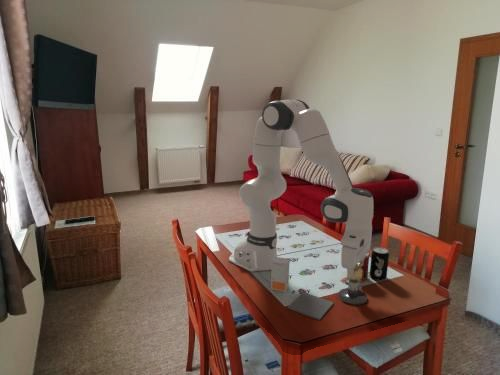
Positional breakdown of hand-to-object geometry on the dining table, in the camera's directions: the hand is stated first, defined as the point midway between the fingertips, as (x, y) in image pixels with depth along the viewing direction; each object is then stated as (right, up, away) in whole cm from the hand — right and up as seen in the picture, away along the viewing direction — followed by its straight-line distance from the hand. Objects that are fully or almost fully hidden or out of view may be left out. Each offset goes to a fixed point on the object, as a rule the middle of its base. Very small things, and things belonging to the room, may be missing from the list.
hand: (355, 270), depth 133 cm
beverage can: (+14, -7, +18) cm, 24 cm away
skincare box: (-27, -9, +9) cm, 29 cm away
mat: (-17, -12, -3) cm, 20 cm away
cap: (0, -3, +1) cm, 3 cm away
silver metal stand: (0, -10, +3) cm, 11 cm away
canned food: (+5, -7, +18) cm, 20 cm away
